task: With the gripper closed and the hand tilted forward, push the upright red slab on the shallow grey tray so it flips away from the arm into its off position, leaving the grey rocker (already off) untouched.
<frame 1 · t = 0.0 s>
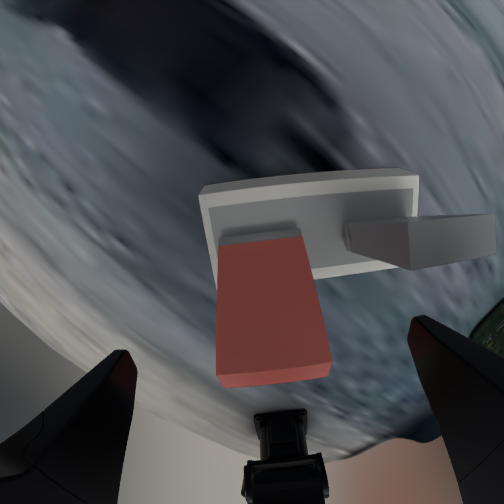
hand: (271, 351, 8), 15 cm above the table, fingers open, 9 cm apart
shallow grey tray: (311, 218, 22), on the table
upright red slab: (266, 296, 16), point 8 cm above the table, hinge at -20.0°
grey rocker: (408, 235, 14), point 8 cm above the table, hinge at 20.0°
coffee jar: (493, 323, 28), on the table
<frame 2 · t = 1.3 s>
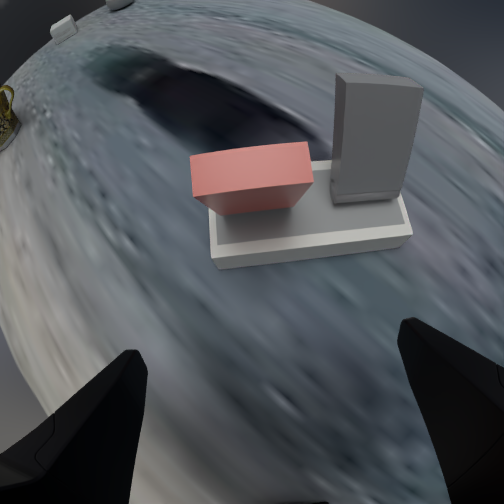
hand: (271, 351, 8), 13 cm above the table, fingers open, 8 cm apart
shallow grey tray: (306, 218, 24), on the table
small box: (67, 36, 44), on the table
upright red slab: (253, 188, 17), point 8 cm above the table, hinge at -20.0°
grey rocker: (373, 144, 17), point 8 cm above the table, hinge at 20.0°
plastic bottle: (123, 7, 45), on the table
ceramic cup: (13, 134, 33), on the table
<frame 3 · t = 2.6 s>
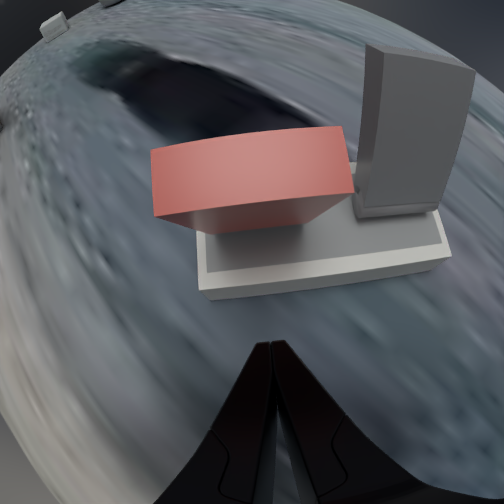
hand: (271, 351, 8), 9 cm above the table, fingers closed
shallow grey tray: (320, 234, 19), on the table
small box: (58, 34, 41), on the table
upright red slab: (254, 199, 12), point 8 cm above the table, hinge at -20.0°
grey rocker: (410, 141, 12), point 8 cm above the table, hinge at 20.0°
plastic bottle: (116, 3, 42), on the table
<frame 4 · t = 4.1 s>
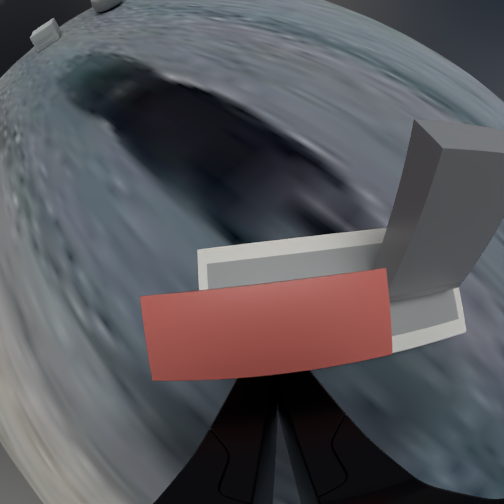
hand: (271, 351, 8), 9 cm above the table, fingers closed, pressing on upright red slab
shallow grey tray: (333, 305, 18), on the table
small box: (50, 42, 39), on the table
upright red slab: (267, 309, 10), point 8 cm above the table, hinge at -13.7°, touching gripper
grey rocker: (444, 229, 11), point 8 cm above the table, hinge at 20.0°
plastic bottle: (110, 8, 40), on the table
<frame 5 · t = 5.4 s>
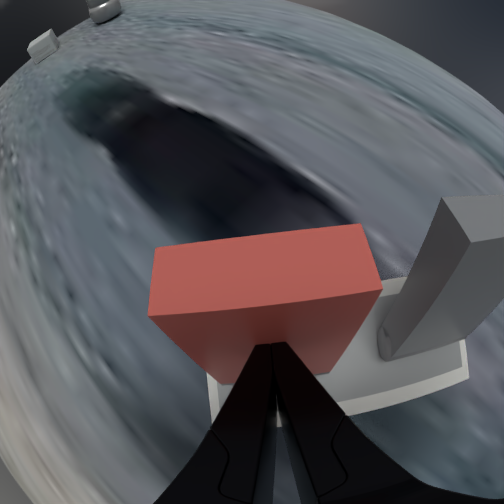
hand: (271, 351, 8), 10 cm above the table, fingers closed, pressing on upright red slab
shallow grey tray: (338, 352, 17), on the table
small box: (48, 54, 39), on the table
upright red slab: (270, 337, 10), point 8 cm above the table, hinge at 14.6°, touching gripper
grey rocker: (456, 295, 10), point 8 cm above the table, hinge at 20.0°
plastic bottle: (109, 19, 40), on the table
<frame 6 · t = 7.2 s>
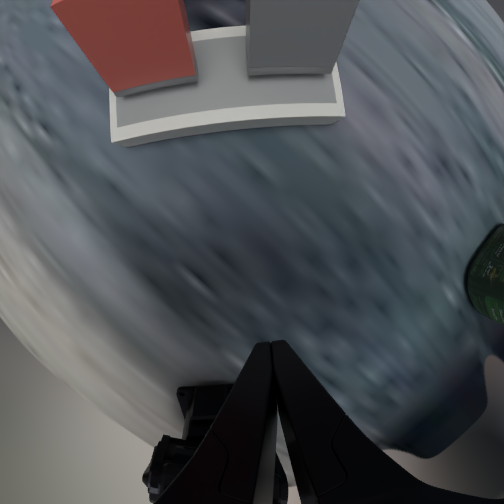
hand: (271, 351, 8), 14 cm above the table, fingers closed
shallow grey tray: (223, 85, 19), on the table
upright red slab: (137, 36, 11), point 8 cm above the table, hinge at 15.1°
grey rocker: (297, 15, 11), point 8 cm above the table, hinge at 20.0°
coffee jar: (491, 266, 24), on the table
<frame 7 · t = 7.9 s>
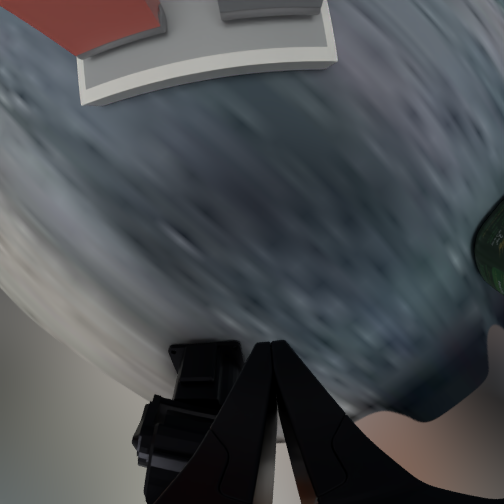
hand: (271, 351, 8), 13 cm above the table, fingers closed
shallow grey tray: (201, 32, 15), on the table
coffee jar: (501, 233, 21), on the table
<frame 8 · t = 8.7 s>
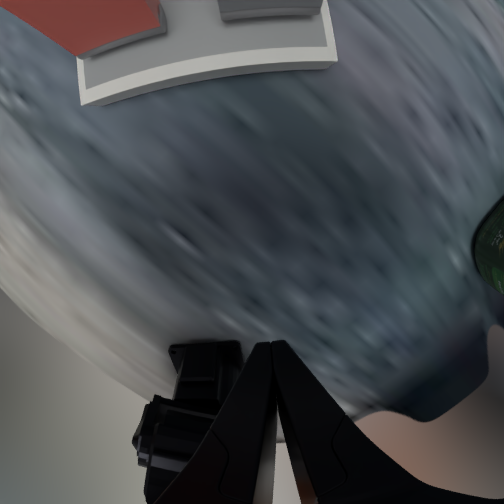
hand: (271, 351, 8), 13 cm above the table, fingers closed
shallow grey tray: (201, 32, 15), on the table
coffee jar: (501, 233, 21), on the table
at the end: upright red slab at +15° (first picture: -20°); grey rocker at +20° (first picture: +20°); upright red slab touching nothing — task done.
